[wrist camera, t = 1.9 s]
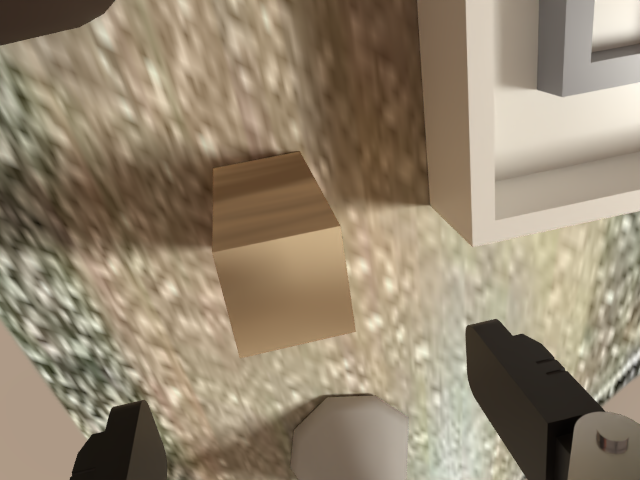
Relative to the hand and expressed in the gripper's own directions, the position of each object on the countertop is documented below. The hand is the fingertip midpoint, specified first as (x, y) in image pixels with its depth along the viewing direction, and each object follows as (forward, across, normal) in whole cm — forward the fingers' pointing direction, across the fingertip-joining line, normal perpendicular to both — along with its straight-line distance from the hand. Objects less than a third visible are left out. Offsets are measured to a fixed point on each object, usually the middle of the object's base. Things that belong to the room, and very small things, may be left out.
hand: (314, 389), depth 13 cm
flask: (+14, -2, +16) cm, 21 cm away
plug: (+14, 0, 0) cm, 14 cm away
